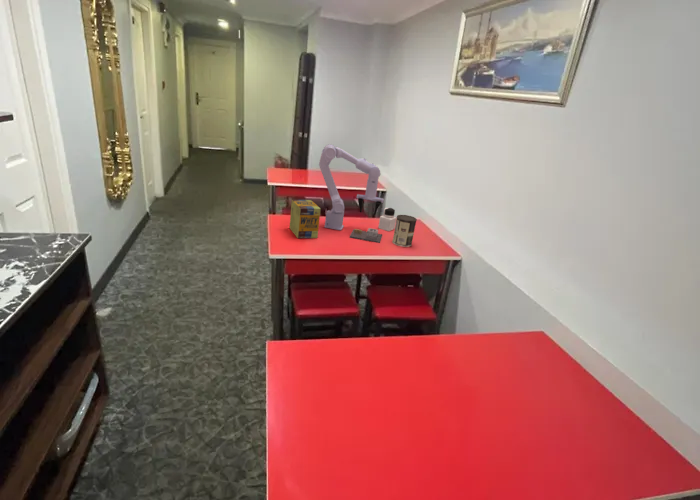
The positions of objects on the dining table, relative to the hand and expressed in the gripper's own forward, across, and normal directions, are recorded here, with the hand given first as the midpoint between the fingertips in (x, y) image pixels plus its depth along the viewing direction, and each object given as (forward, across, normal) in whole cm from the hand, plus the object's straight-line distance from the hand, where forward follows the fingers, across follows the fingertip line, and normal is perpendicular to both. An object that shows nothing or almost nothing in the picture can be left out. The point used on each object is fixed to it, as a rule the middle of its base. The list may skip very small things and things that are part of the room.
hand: (367, 213), depth 208 cm
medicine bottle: (+10, +11, +10) cm, 18 cm away
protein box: (+10, -29, -22) cm, 38 cm away
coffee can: (+10, +21, -10) cm, 25 cm away
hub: (+9, +5, -10) cm, 15 cm away
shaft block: (+10, +2, -10) cm, 14 cm away
